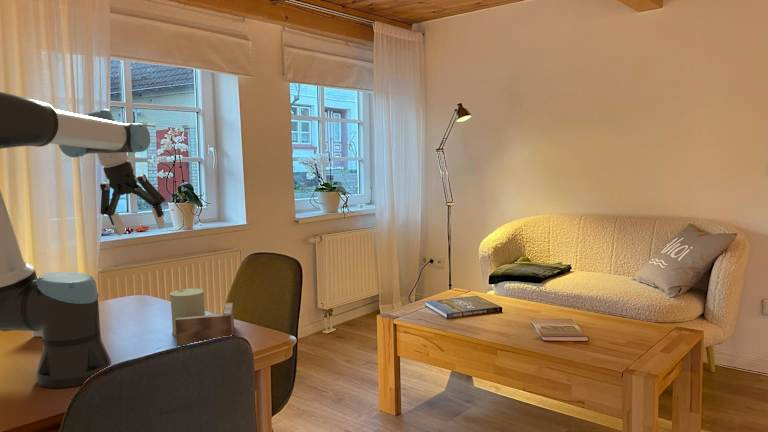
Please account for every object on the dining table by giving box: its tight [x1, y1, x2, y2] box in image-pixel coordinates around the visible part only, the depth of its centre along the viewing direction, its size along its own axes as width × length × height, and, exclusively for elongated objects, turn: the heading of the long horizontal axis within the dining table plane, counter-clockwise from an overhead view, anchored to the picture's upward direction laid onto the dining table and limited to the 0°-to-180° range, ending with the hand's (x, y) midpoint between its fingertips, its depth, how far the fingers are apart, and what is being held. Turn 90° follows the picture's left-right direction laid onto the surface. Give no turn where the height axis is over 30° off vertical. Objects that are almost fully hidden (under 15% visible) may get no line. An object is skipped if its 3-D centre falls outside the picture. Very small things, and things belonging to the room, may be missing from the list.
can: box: [169, 287, 206, 337], centre depth 167 cm, size 9×9×12 cm
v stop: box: [175, 302, 235, 347], centre depth 161 cm, size 11×20×7 cm, turn 147°
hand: (142, 230), depth 178 cm, fingers open, 13 cm apart
